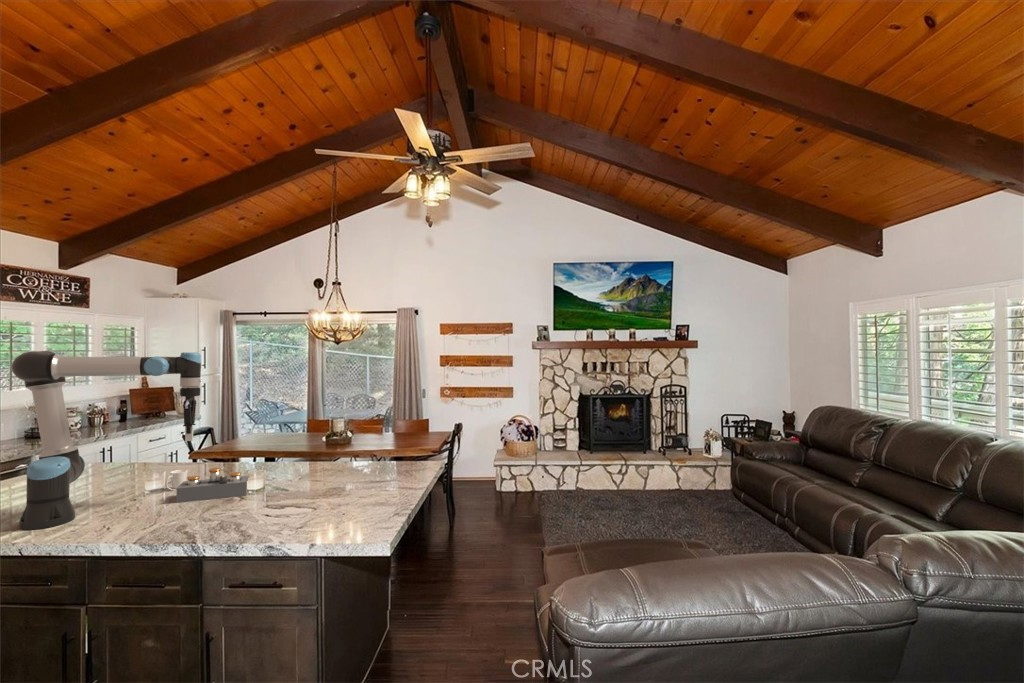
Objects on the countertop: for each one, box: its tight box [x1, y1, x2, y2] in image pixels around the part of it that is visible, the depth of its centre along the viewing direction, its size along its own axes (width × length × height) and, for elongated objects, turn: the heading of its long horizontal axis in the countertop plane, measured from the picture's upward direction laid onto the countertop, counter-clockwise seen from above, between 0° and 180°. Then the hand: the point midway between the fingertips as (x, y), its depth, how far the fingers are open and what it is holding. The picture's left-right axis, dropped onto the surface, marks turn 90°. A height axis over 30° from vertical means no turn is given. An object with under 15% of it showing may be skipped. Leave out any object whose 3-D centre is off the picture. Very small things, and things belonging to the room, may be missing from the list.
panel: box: [176, 475, 250, 503], centre depth 215 cm, size 26×12×6 cm, turn 113°
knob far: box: [229, 471, 242, 482], centre depth 218 cm, size 5×5×7 cm
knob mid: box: [208, 467, 222, 484], centre depth 215 cm, size 5×5×7 cm
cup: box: [164, 469, 189, 491], centre depth 224 cm, size 7×10×8 cm
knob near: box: [186, 475, 201, 485], centre depth 211 cm, size 5×5×7 cm
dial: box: [220, 475, 228, 484], centre depth 212 cm, size 3×3×3 cm
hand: (189, 440), depth 212 cm, fingers closed
